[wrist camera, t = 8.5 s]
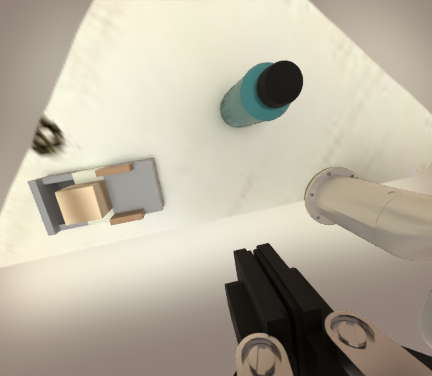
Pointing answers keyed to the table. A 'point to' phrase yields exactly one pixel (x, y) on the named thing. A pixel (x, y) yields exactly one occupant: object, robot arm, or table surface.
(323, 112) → the table surface
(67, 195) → the maple block
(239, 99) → the beverage bottle
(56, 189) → the grey open boxy piece
